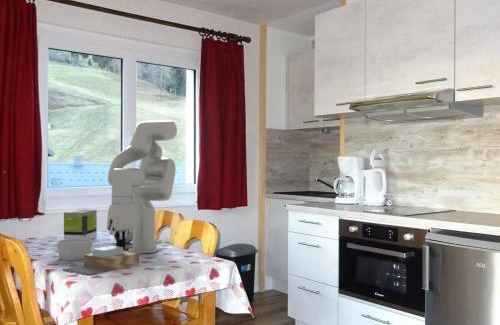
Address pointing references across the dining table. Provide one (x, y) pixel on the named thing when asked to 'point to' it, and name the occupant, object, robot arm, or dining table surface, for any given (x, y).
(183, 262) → the dining table surface
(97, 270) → the mat
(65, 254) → the ramekin
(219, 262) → the dining table surface
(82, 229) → the tea box
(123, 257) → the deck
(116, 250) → the grey-green rectangular block
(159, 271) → the dining table surface
